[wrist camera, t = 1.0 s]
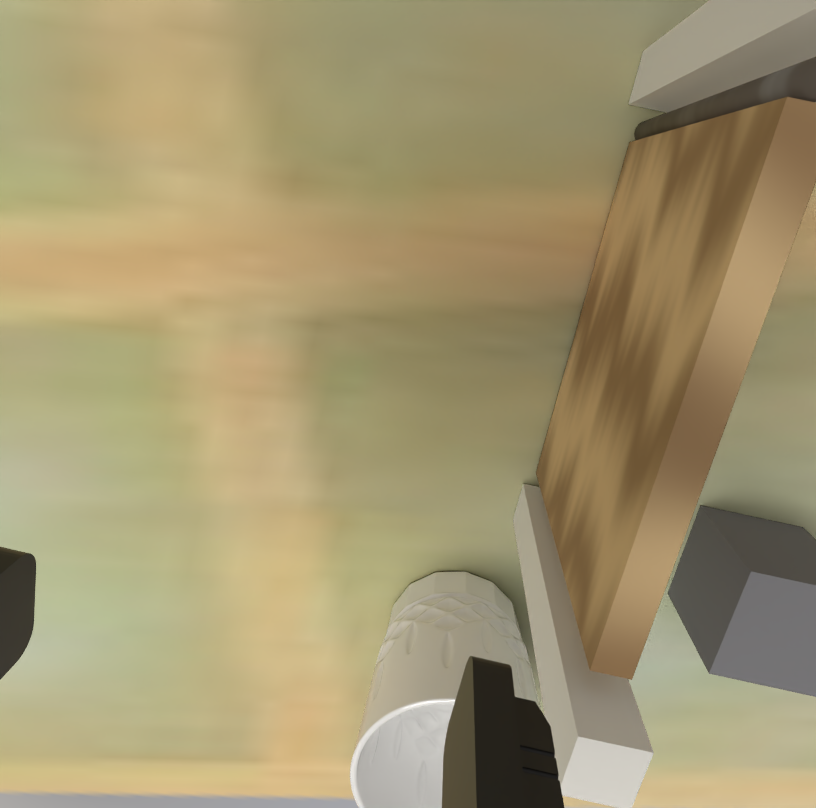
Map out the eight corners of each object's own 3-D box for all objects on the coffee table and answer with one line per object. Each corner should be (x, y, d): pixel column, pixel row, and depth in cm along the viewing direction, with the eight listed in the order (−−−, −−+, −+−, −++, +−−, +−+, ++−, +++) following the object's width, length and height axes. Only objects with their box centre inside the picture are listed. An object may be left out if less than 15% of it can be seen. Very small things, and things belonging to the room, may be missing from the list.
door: (634, 118, 28) (820, 40, 13) (694, 130, 28) (945, 66, 13) (535, 470, 33) (594, 688, 18) (586, 481, 33) (685, 707, 18)
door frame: (643, 50, 27) (882, -132, 12) (692, 61, 27) (996, -109, 12) (513, 519, 33) (557, 794, 18) (552, 528, 33) (630, 810, 18)
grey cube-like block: (700, 504, 33) (750, 571, 27) (802, 526, 33) (875, 598, 27) (667, 592, 34) (709, 673, 28) (765, 614, 34) (826, 699, 28)
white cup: (561, 633, 35) (598, 797, 26) (447, 712, 37) (443, 891, 28) (460, 530, 34) (460, 662, 24) (348, 617, 36) (308, 771, 26)
